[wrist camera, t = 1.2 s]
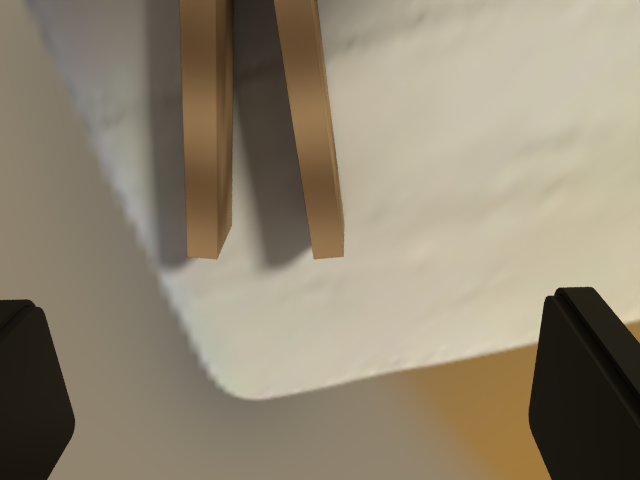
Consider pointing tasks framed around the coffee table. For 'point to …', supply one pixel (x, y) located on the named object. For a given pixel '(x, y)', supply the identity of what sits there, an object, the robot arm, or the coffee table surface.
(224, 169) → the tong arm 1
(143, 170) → the coffee table surface
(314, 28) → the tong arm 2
